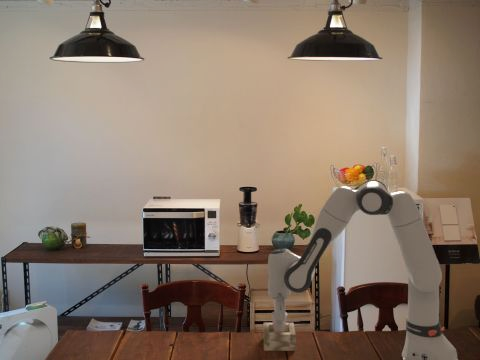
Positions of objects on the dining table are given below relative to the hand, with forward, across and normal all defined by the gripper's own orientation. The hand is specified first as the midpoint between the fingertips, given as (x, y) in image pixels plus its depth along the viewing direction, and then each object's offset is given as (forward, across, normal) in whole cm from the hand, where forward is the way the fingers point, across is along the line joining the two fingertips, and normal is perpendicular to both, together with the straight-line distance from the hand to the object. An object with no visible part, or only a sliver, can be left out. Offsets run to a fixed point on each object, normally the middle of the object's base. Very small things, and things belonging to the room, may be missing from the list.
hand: (279, 323), depth 245 cm
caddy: (+8, 0, 0) cm, 8 cm away
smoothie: (+6, 0, 0) cm, 6 cm away
